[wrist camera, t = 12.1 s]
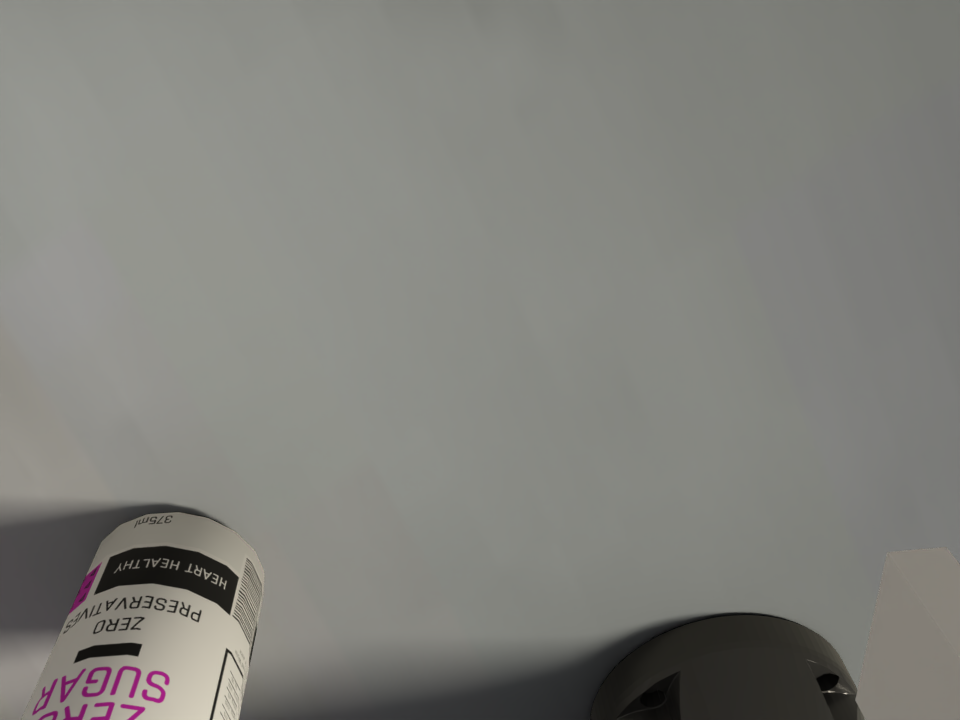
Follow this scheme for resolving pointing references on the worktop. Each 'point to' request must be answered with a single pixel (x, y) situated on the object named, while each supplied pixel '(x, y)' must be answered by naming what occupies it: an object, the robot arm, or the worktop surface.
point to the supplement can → (157, 627)
